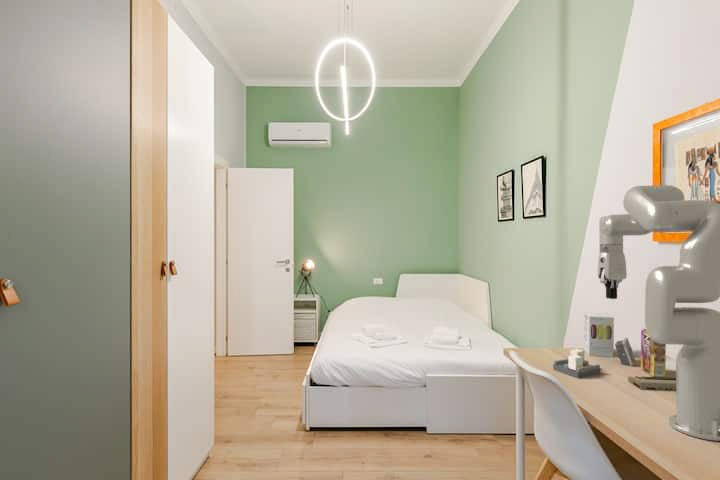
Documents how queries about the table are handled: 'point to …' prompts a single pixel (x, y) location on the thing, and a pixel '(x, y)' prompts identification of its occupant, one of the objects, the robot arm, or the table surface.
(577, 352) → the tab
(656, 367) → the candy box
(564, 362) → the switch bank
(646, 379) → the computer
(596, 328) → the supplement box
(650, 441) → the table surface
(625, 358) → the electrical switch
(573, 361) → the white block
